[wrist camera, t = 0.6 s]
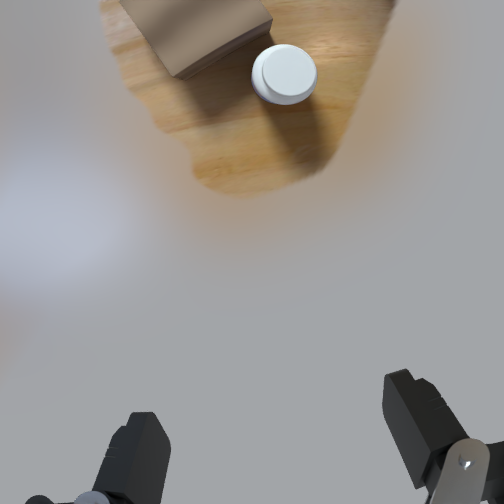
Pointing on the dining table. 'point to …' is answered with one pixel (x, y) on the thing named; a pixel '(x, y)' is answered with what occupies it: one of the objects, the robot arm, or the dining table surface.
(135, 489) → the robot arm
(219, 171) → the dining table surface
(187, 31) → the walnut block
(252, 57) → the dining table surface
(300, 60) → the pill bottle
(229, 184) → the dining table surface
